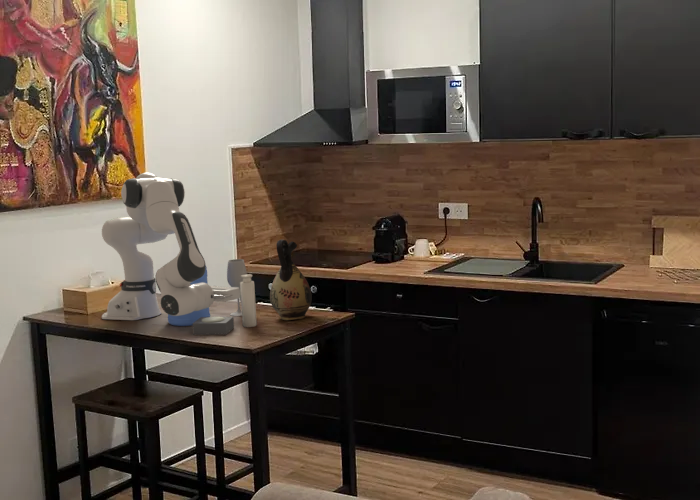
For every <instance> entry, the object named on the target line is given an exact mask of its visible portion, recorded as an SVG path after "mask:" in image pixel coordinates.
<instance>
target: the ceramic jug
mask: <svg viewBox="0 0 700 500" xmlns="http://www.w3.org/2000/svg"><path fill="white" fill-rule="evenodd" d="M297 247H298V244H297V243H296V242H295V241H292V240H291V241H289V243H288V241H287V240H286V239H279V240H277V241H276V252H277V258H278V260H279V263H280V268H279V270H278V271H277V273H276V275H275V277H274V279H273V280H272V281H273V282H272V283H271V287H270V291H269V292H270V293H269V301H270V304H271V306H272V308H273V310H275V312H276V313H277V314H278V315H279V317H280V319H281V320H282V321H283V320H284V321H291V320H303V319H305V318H307V316H306V314H307V312H308V310H309V308H310V307H311V305H312V300H313V298H312V297H313V296H312V291H311V287H310V285H309V282H308V280H307V279H306V278H305V276H304V275H303V273H302V272H301V270H300V268H298V267H297V265H296V264H295V263H294V262H293V260H292V253H293V251H294V250H295V249H297Z"/></svg>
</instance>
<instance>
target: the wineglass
mask: <svg viewBox="0 0 700 500" xmlns="http://www.w3.org/2000/svg"><path fill="white" fill-rule="evenodd" d="M226 268H227V269H226V279H227V283H228V285H229V287H239V289H240V282H243V278H242V277H241V275H245V274H248V272H247V267H246V262H245V260H244V259H243V258H237V259H236V258H235V259H229V260H228V261H227V266H226ZM240 290H241V289H240ZM236 301H237V310H236V311H234V312H231V313H230V314H229V317H242V309H241V302H240V298H238V299H236Z"/></svg>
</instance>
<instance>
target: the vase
mask: <svg viewBox="0 0 700 500" xmlns="http://www.w3.org/2000/svg"><path fill="white" fill-rule="evenodd" d="M241 277H242V278H243V282H240V301H241V302H240V307H241V311H242V316H241V319H242V320H241V321H242V327H244V328H253V327H256V326H257V310H256V309H257V308H256V294H255V292H256V291H255V281H254V280H252V277H253V274H251V273H249V274H248V273H247V274H245V275H241Z"/></svg>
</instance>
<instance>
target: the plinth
mask: <svg viewBox="0 0 700 500" xmlns="http://www.w3.org/2000/svg"><path fill="white" fill-rule="evenodd" d="M234 321H235V320H234V316H210V317H201V318H199V319H198V320H196V321H195V322H194V323H192V324H193V325H192V334H193V335H228V333H230V332H231V331H232V330H233V329H234V328H235V323H234Z"/></svg>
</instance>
